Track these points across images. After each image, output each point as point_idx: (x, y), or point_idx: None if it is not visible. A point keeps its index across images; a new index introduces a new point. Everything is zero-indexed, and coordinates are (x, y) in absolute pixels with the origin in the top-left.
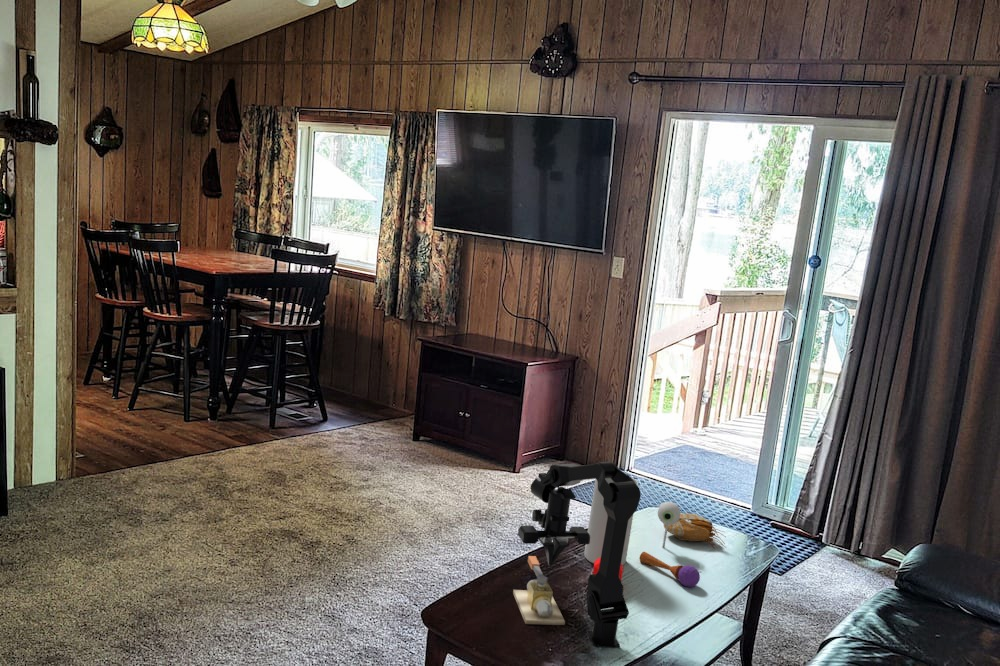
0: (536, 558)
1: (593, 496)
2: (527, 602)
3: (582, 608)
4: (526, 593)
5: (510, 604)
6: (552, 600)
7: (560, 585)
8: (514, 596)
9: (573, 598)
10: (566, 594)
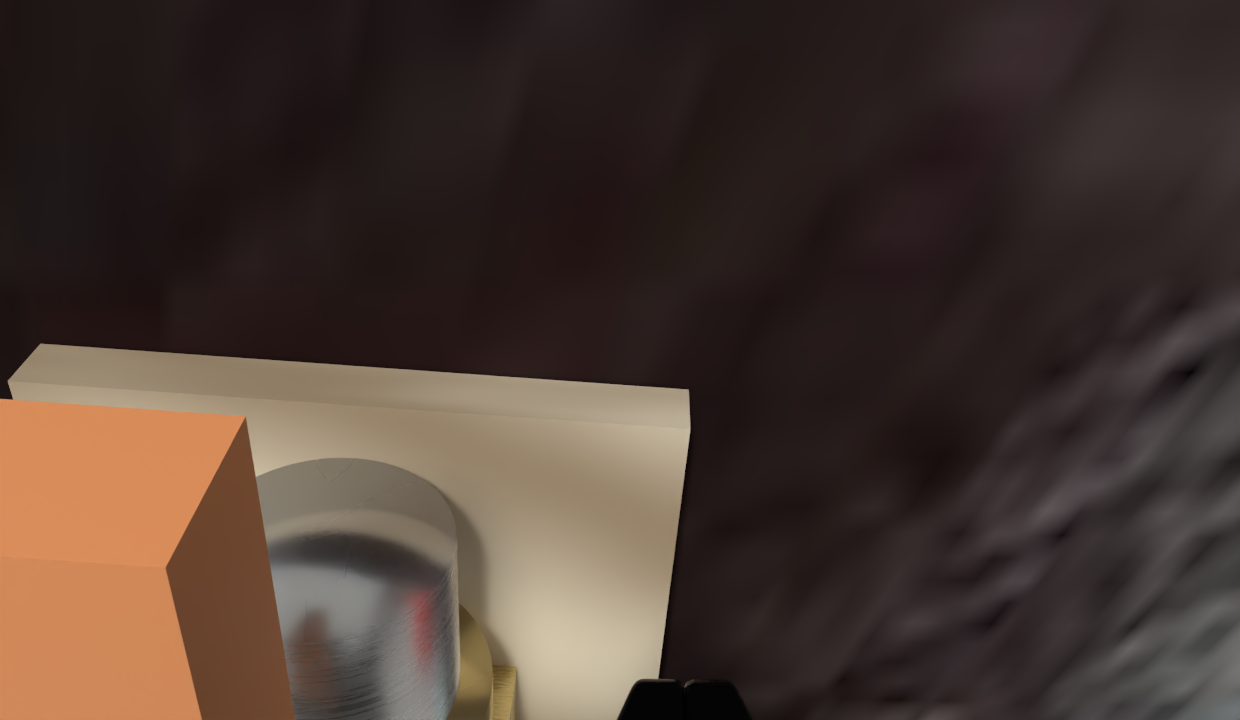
0: (189, 716)
1: None
2: None
3: (1027, 710)
4: None
5: None
6: (627, 663)
7: (1096, 43)
8: None
9: (1059, 495)
10: (1011, 382)
